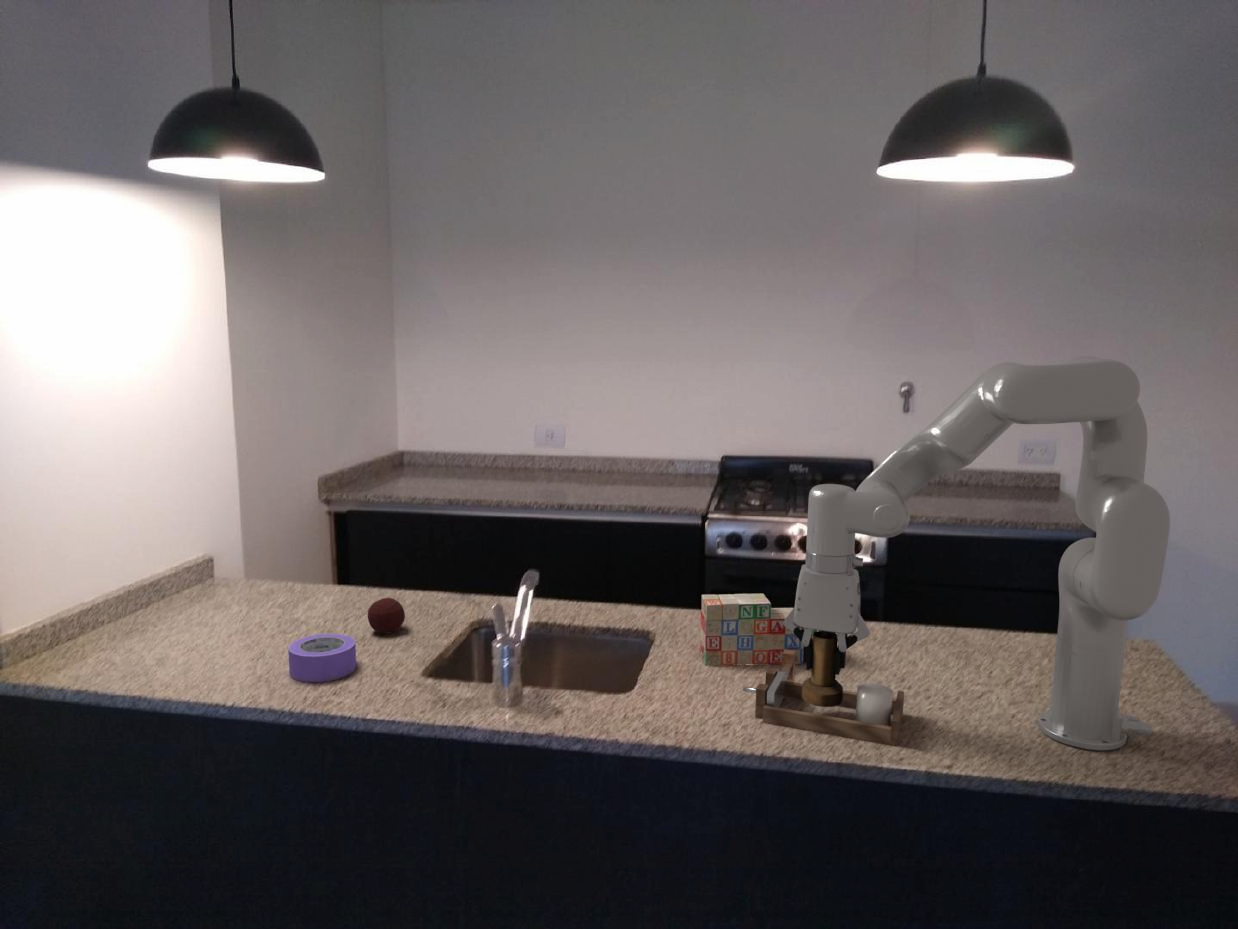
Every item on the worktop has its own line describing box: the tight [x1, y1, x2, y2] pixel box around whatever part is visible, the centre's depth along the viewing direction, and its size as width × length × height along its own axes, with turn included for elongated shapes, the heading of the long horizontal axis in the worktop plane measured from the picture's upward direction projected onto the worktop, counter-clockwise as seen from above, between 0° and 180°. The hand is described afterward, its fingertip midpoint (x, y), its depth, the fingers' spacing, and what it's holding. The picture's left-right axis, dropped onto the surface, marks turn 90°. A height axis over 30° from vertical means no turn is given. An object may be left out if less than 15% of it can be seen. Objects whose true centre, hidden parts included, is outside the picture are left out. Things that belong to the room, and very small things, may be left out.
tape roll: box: [287, 633, 357, 683], centre depth 166 cm, size 12×12×5 cm
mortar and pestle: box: [802, 630, 844, 708], centre depth 147 cm, size 7×6×18 cm
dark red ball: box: [367, 597, 406, 634], centre depth 185 cm, size 7×8×7 cm
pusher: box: [742, 649, 796, 708], centre depth 155 cm, size 7×16×6 cm, turn 158°
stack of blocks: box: [699, 593, 818, 666], centre depth 172 cm, size 21×6×12 cm, turn 93°
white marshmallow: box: [855, 682, 894, 727], centre depth 145 cm, size 6×6×6 cm
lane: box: [754, 667, 905, 747], centre depth 148 cm, size 22×12×5 cm, turn 68°
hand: (823, 668), depth 147 cm, fingers closed on mortar and pestle, 3 cm apart
